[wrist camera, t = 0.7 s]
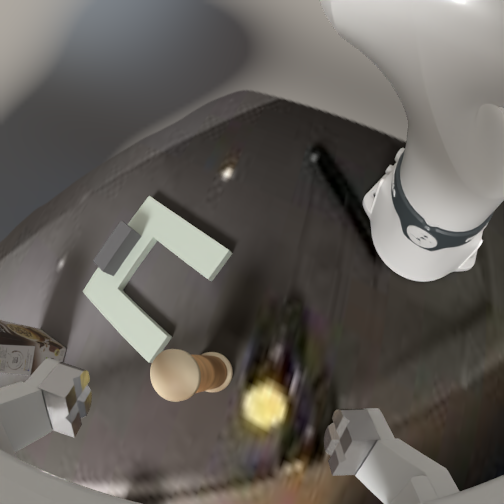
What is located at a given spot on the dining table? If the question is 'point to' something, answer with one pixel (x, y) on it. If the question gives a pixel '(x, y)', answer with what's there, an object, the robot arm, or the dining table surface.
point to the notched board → (129, 259)
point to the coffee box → (26, 348)
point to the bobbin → (189, 373)
